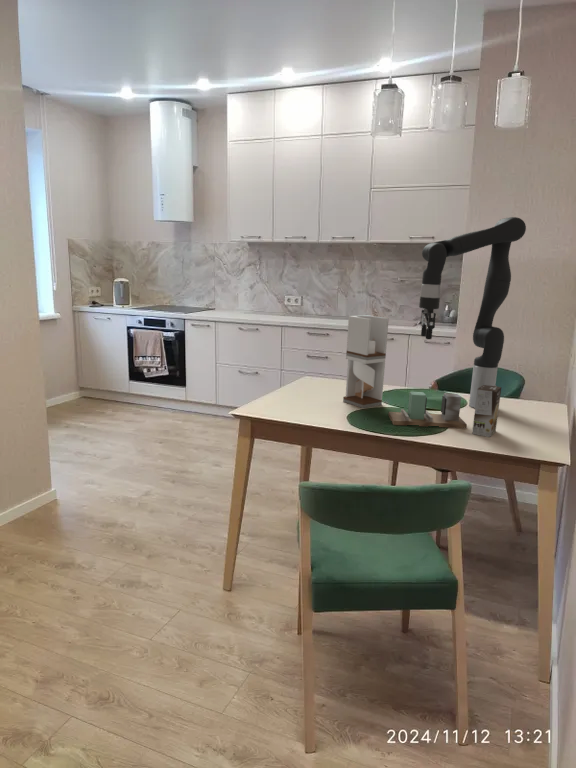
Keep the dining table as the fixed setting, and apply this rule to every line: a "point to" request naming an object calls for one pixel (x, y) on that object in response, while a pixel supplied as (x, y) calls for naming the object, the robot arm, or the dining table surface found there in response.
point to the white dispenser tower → (366, 360)
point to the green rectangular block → (417, 405)
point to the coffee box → (486, 410)
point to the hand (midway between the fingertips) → (426, 337)
